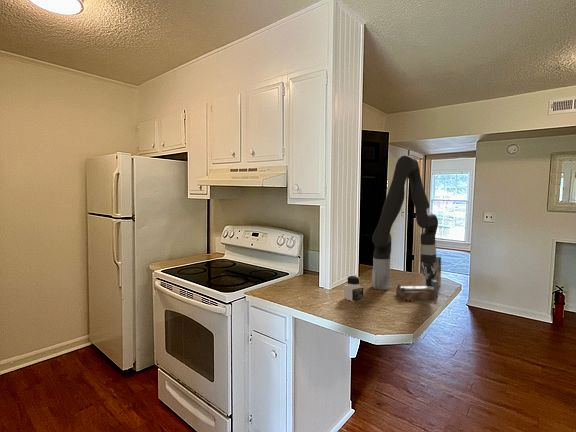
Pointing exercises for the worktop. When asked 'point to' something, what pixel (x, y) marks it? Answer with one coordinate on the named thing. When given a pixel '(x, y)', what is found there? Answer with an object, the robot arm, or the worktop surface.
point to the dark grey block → (435, 286)
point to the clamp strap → (417, 287)
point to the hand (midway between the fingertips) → (428, 285)
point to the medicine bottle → (353, 289)
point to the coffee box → (437, 270)
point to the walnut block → (415, 294)
